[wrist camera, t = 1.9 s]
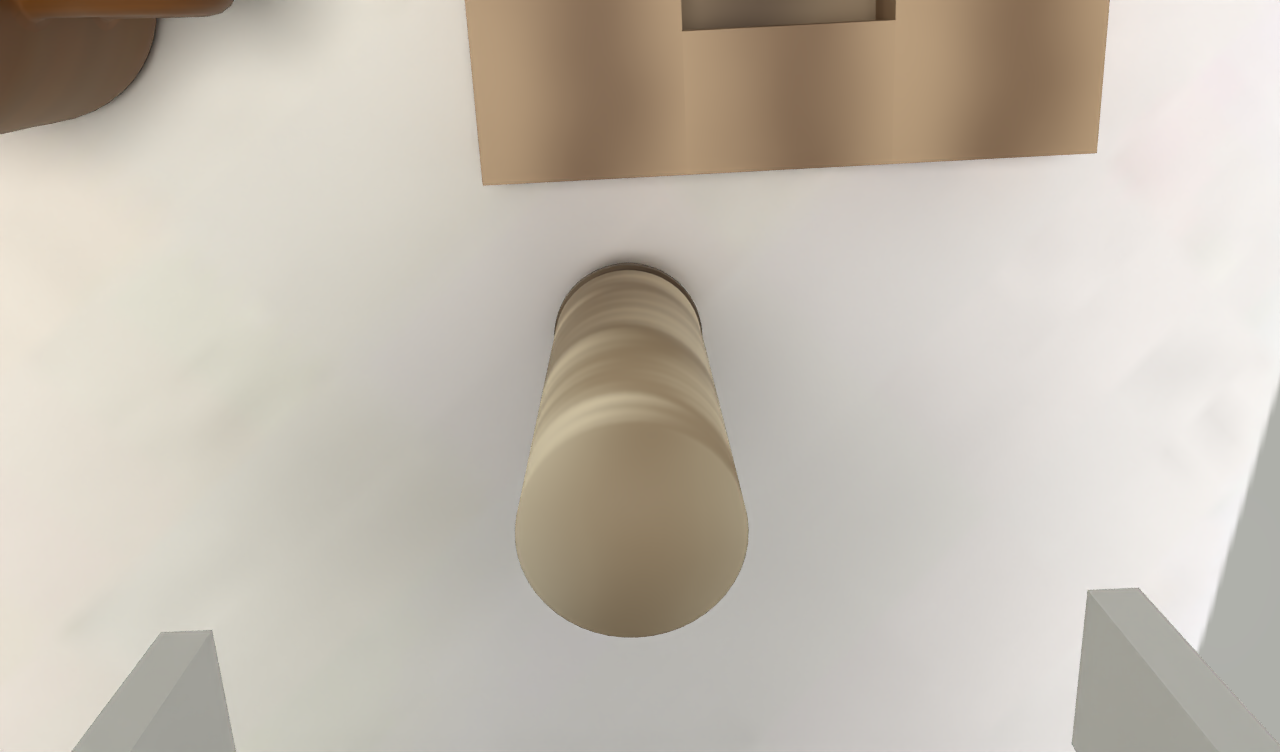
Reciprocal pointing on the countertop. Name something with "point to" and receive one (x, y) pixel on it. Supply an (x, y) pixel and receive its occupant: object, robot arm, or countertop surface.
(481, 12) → the board
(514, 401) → the countertop surface
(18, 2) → the mug
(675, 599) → the leg
